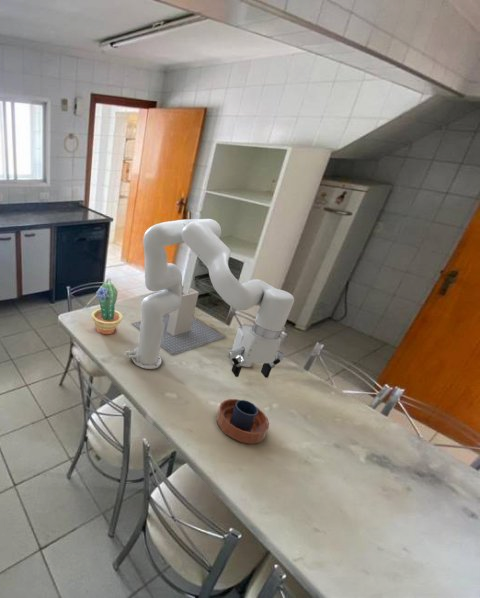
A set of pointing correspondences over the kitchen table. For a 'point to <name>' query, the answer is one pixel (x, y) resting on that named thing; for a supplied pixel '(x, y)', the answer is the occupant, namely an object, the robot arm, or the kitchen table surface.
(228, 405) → the bowl
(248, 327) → the milk carton
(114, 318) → the potted cactus
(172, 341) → the grey base with block
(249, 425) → the cup
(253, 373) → the kitchen table surface
